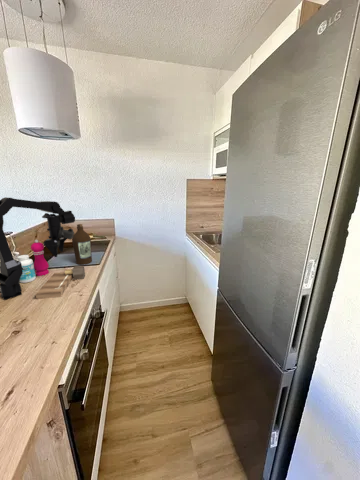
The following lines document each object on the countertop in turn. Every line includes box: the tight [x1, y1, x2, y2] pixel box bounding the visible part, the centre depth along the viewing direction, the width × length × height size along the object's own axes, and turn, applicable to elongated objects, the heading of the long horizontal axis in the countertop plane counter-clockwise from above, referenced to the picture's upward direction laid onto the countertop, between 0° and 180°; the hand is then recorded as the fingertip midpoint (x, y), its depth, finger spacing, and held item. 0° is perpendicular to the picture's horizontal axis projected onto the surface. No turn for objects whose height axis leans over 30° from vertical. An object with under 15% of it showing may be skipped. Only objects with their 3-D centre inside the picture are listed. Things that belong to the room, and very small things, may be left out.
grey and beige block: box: [64, 265, 86, 281], centre depth 112 cm, size 4×9×6 cm, turn 104°
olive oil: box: [71, 223, 93, 266], centre depth 132 cm, size 11×11×25 cm
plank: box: [35, 271, 74, 300], centre depth 103 cm, size 23×10×3 cm, turn 12°
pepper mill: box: [30, 239, 50, 277], centre depth 115 cm, size 7×7×20 cm
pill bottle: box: [17, 254, 37, 284], centre depth 108 cm, size 8×7×14 cm
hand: (59, 254), depth 113 cm, fingers open, 9 cm apart
